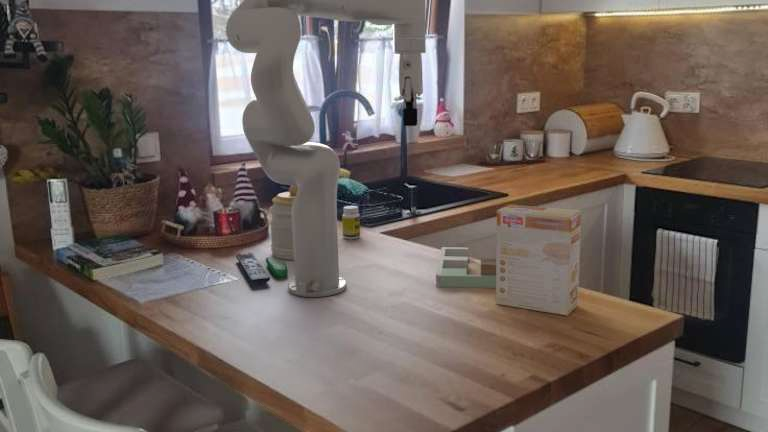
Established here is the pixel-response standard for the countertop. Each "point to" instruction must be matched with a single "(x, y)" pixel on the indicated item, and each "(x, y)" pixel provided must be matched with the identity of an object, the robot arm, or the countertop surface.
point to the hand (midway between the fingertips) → (410, 125)
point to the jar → (282, 224)
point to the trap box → (459, 270)
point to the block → (488, 266)
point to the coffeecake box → (538, 258)
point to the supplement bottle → (351, 222)
